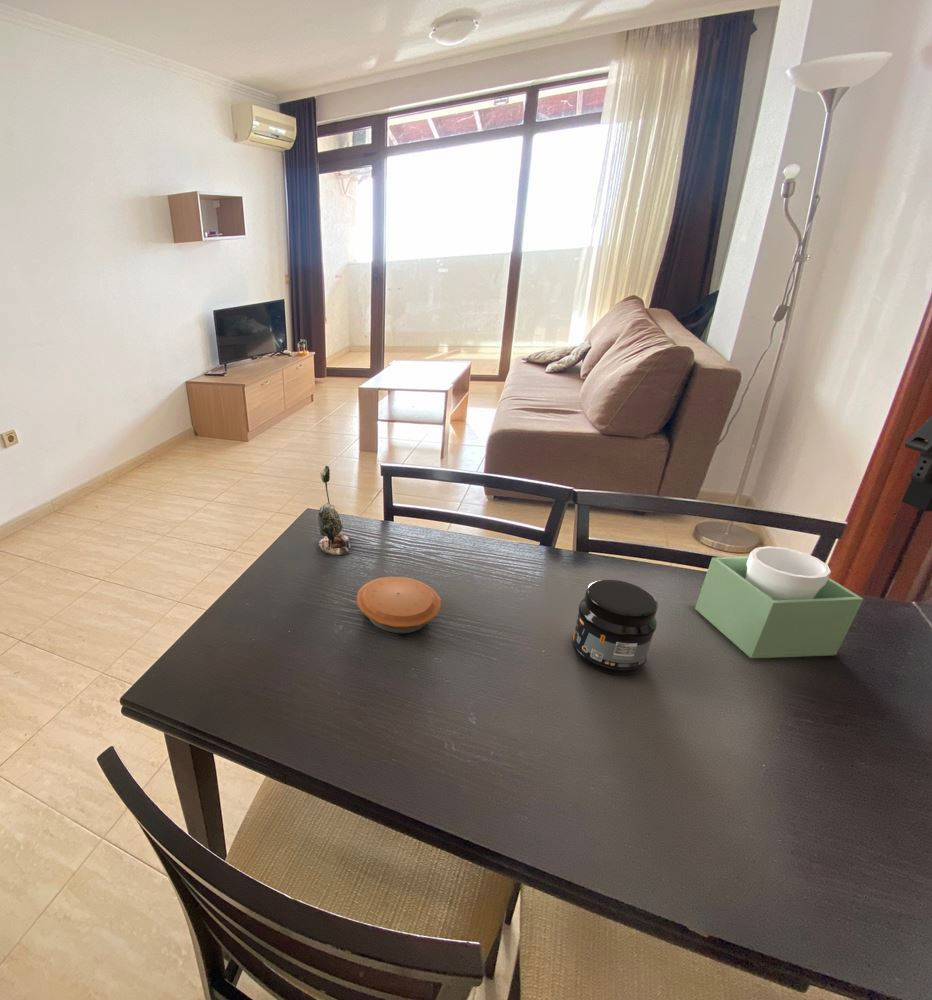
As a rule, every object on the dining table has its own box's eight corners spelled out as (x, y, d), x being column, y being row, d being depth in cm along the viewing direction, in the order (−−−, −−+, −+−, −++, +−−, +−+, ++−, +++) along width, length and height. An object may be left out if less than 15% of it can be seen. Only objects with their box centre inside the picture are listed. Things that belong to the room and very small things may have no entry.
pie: (369, 585, 112) (369, 564, 110) (446, 600, 106) (447, 579, 104) (346, 630, 100) (345, 608, 98) (431, 650, 93) (433, 627, 91)
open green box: (769, 605, 97) (790, 553, 93) (836, 655, 86) (863, 599, 81) (694, 608, 98) (711, 557, 93) (750, 658, 86) (773, 602, 82)
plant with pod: (308, 557, 124) (304, 477, 115) (325, 534, 133) (323, 459, 124) (342, 563, 121) (340, 482, 112) (357, 539, 130) (357, 462, 121)
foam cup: (742, 602, 97) (765, 540, 91) (810, 629, 90) (839, 563, 84) (717, 623, 93) (740, 559, 87) (786, 652, 85) (816, 585, 80)
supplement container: (597, 627, 96) (611, 570, 90) (659, 663, 87) (678, 602, 82) (556, 647, 92) (568, 589, 87) (616, 687, 83) (633, 625, 78)
